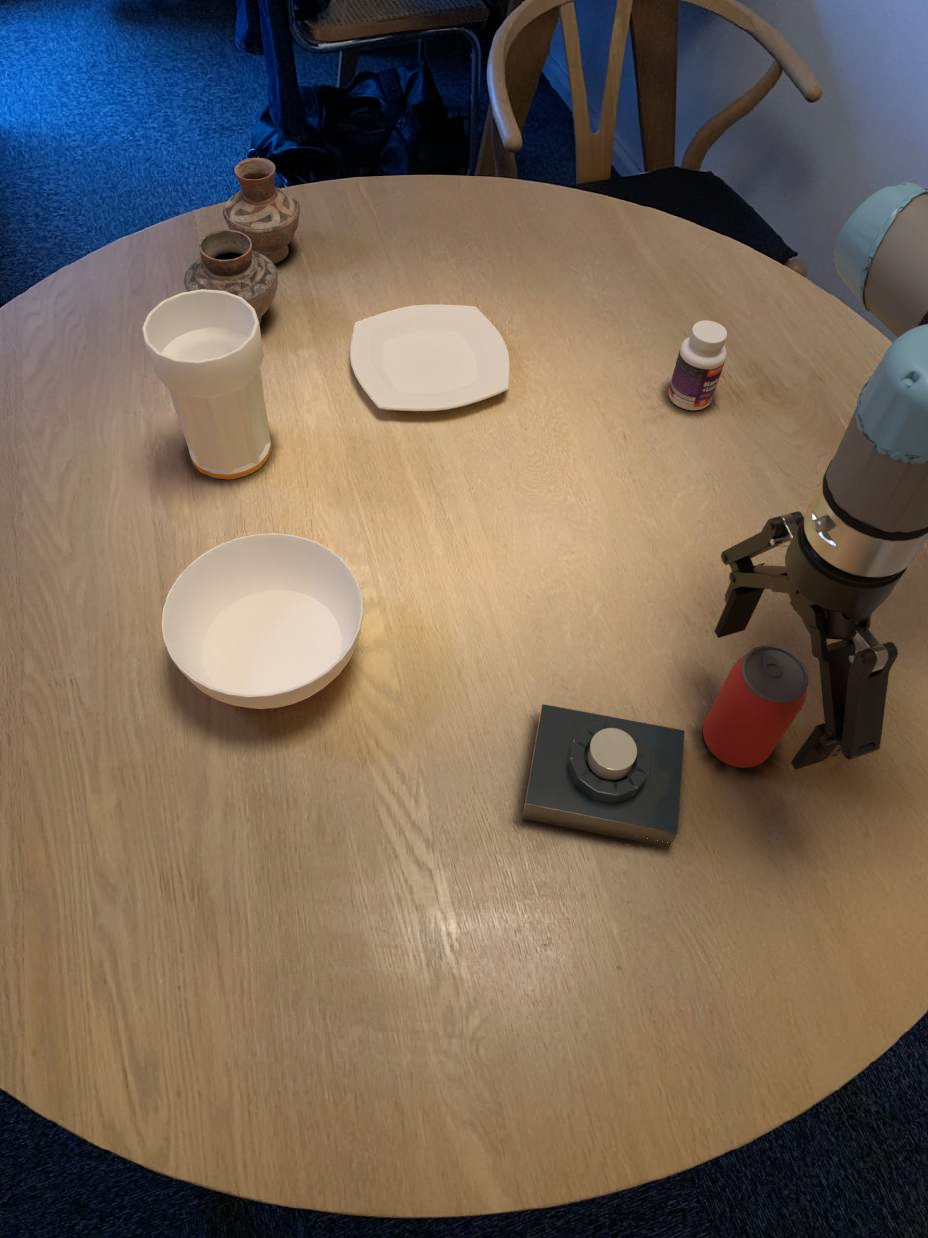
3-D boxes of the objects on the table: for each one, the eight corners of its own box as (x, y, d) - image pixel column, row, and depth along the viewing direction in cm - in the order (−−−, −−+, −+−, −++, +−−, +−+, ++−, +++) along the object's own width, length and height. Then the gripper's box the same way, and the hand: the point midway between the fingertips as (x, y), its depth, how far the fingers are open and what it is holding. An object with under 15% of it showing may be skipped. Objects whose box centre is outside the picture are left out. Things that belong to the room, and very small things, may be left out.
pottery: (315, 235, 130) (306, 151, 120) (272, 353, 116) (258, 269, 106) (235, 227, 130) (220, 142, 120) (183, 343, 116) (161, 258, 106)
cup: (163, 474, 104) (120, 348, 89) (206, 406, 110) (172, 279, 96) (258, 497, 102) (230, 373, 88) (296, 427, 109) (276, 301, 94)
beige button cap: (634, 743, 82) (639, 732, 80) (630, 784, 79) (635, 774, 78) (589, 734, 82) (592, 723, 80) (584, 775, 80) (587, 765, 78)
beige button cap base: (676, 746, 87) (689, 720, 83) (669, 847, 81) (682, 825, 77) (538, 720, 88) (544, 694, 84) (522, 818, 82) (527, 795, 78)
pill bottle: (702, 417, 112) (723, 352, 104) (660, 401, 113) (678, 335, 105) (718, 391, 114) (740, 326, 106) (677, 375, 116) (696, 309, 108)
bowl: (406, 656, 91) (405, 614, 85) (255, 773, 84) (242, 736, 78) (289, 548, 98) (280, 503, 92) (141, 648, 91) (120, 605, 85)
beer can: (755, 702, 90) (796, 633, 80) (782, 763, 86) (828, 699, 76) (690, 714, 89) (723, 646, 79) (715, 776, 85) (753, 713, 75)
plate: (526, 408, 112) (527, 395, 110) (367, 432, 108) (366, 419, 107) (485, 308, 122) (486, 295, 120) (339, 327, 119) (337, 314, 117)
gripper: (720, 425, 69) (664, 592, 87) (915, 708, 56) (803, 837, 73) (809, 403, 70) (736, 572, 88) (1019, 674, 57) (884, 809, 75)
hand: (766, 693), depth 81 cm, fingers open, 13 cm apart
